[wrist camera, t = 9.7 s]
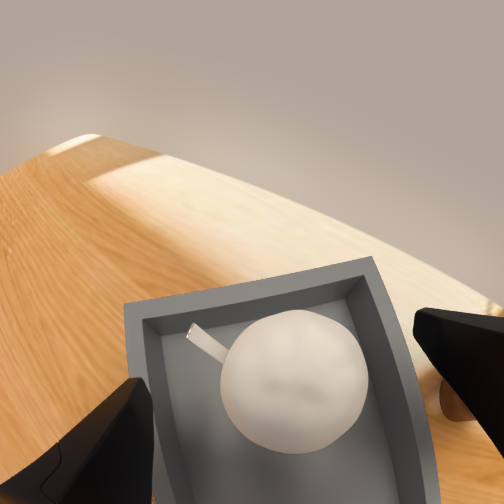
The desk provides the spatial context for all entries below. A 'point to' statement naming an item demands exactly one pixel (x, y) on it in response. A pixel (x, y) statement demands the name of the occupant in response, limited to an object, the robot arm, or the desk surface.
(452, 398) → the walnut cylinder
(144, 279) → the desk surface
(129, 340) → the tray
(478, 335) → the robot arm
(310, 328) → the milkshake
